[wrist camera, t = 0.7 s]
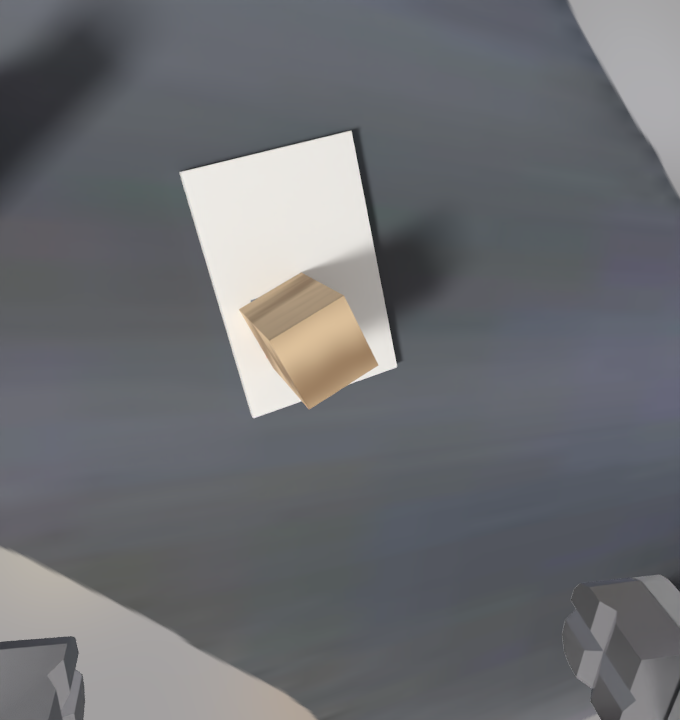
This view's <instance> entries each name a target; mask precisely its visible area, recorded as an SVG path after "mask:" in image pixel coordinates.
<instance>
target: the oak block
mask: <svg viewBox="0 0 680 720" xmlns="http://www.w3.org/2000/svg"><path fill="white" fill-rule="evenodd" d="M239 311H240V312H241V314H242V316H243V317H244V319H245V321H246V323H247V324H248V326H249V328H250V329H251V331H252V333H253V334H254V336H255V338H256V340H257V341H258V343H259V345H260V346H261V348H262V350H263V352H264V353H265V355H266V357H267V358H268V360H269V362H270V364H271V365H272V367H273V368H274V370H275V371H276V372H277V373H278V374H279V375H280V377H281V378H282V379H283V380H284V381H285V382H286V383H287V385H288V386H289V387H290V388H291V389H292V390H293V392H294V393H295V394H296V395H297V396H298V397H299V398H300V400H301V401H302V402H303V403H304V404H305V405H306V407H307V408H308V409H311V408H312V407H314V406H315V405H317V404H318V403H320V402H322V401H323V400H325V399H326V398H328V397H329V396H331V395H333V394H334V393H336V392H337V391H339V390H340V389H342V388H344V387H345V386H347V385H348V384H350V383H351V382H353V381H355V380H356V379H358V378H359V377H361V376H362V375H364V374H366V373H367V372H369V371H370V370H372V369H374V368H375V367H377V366H378V363H377V361H376V359H375V357H374V355H373V353H372V351H371V349H370V347H369V345H368V343H367V341H366V339H365V337H364V335H363V333H362V331H361V329H360V327H359V325H358V323H357V321H356V319H355V317H354V315H353V313H352V311H351V309H350V307H349V305H348V303H347V301H346V299H345V297H344V295H342V294H340V293H338V292H337V291H335V290H333V289H331V288H329V287H327V286H325V285H324V284H322V283H320V282H318V281H316V280H314V279H312V278H311V277H309V276H307V275H305V274H303V273H299V274H298V275H296V276H294V277H293V278H291V279H289V280H288V281H286V282H284V283H282V284H281V285H279V286H277V287H276V288H274V289H272V290H271V291H269V292H267V293H266V294H264V295H262V296H261V297H259V298H257V299H256V300H254V301H252V302H250V303H249V304H247V305H245V306H244V307H242V308H240V309H239Z"/></svg>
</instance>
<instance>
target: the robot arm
mask: <svg viewBox="0 0 680 720" xmlns="http://www.w3.org/2000/svg"><path fill="white" fill-rule="evenodd" d="M571 602H572V603H573V605H574V606H575V608H576V609H575V610H574V611H573V612H572V613H571V614H570V615H569V616H568V617H567V618H566V619H565V623H564V627H563V632H562V639H563V647H564V652H565V655H566V658H567V661H568V663H569V665H570V667H571V669H572V671H573V672H574V674H575V676H576V678H578V679H579V680H581V681H582V682H584V683H585V684H586V685H588V686H589V687H591V688H592V691H591V701H590V702H591V704H592V705H593V707H594V709H595V710H596V712H597V714H598V715H599V717H600V719H601V720H680V592H679V591H678V590H677V589H676V587H675V586H674V585H673V584H672V583H671V582H670V581H669V580H668V579H667V578H665V577H663V576H662V575H652V576H643V577H634V578H622V579H614V580H605V581H596V582H588V583H580V584H579V585H578V586H577V587H576V588H575V589H574V591H573V594H572V597H571ZM77 658H78V648H77V644H76V639H75V638H74V637H71V636H70V637H57V638H44V639H31V640H18V641H6V642H0V720H83V717H84V704H85V696H84V682H83V676H82V674H81V673H80V672H78V671H77V670H76V669H75V667H76V663H77Z"/></svg>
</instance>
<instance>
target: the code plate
mask: <svg viewBox="0 0 680 720" xmlns="http://www.w3.org/2000/svg"><path fill="white" fill-rule="evenodd" d="M179 173H180V177H181V180H182V183H183V187H184V190H185V193H186V197H187V200H188V204H189V207H190V210H191V214H192V217H193V220H194V224H195V227H196V230H197V234H198V237H199V241H200V244H201V247H202V251H203V254H204V257H205V261H206V264H207V267H208V271H209V274H210V278H211V281H212V284H213V288H214V291H215V294H216V298H217V301H218V305H219V308H220V311H221V315H222V318H223V321H224V325H225V328H226V331H227V335H228V338H229V342H230V345H231V348H232V352H233V355H234V358H235V362H236V365H237V369H238V372H239V375H240V379H241V382H242V385H243V389H244V392H245V395H246V399H247V402H248V406H249V409H250V412H251V415H252V417H253V418H256V417H259V416H261V415H264V414H267V413H270V412H273V411H275V410H278V409H281V408H284V407H287V406H289V405H292V404H295V403H298V402H301V400H300V398H299V397H298V396H297V395H296V394H295V393H294V392H293V390H292V389H291V388H290V387H289V386H288V385H287V383H286V382H285V381H284V380H283V379H282V378H281V377H280V375H279V374H278V373H277V372H276V371H275V370H274V368H273V367H272V365H271V364H270V362H269V360H268V358H267V357H266V355H265V353H264V352H263V350H262V348H261V346H260V345H259V343H258V341H257V340H256V338H255V336H254V334H253V333H252V331H251V329H250V328H249V326H248V324H247V323H246V321H245V319H244V317H243V316H242V314H241V312H240V311H239V309H240V308H242V307H244V306H245V305H247V304H249V303H250V302H252V301H254V300H256V299H257V298H259V297H261V296H262V295H264V294H266V293H267V292H269V291H271V290H272V289H274V288H276V287H277V286H279V285H281V284H282V283H284V282H286V281H288V280H289V279H291V278H293V277H294V276H296V275H298V274H299V273H303V274H305V275H307V276H309V277H311V278H312V279H314V280H316V281H318V282H320V283H322V284H324V285H325V286H327V287H329V288H331V289H333V290H335V291H337V292H338V293H340V294H342V295H344V297H345V299H346V301H347V303H348V305H349V307H350V309H351V311H352V313H353V315H354V317H355V319H356V321H357V323H358V325H359V327H360V329H361V331H362V333H363V335H364V337H365V339H366V341H367V343H368V345H369V347H370V349H371V351H372V353H373V355H374V357H375V359H376V361H377V363H378V366H377V367H375V368H374V369H372V370H370V371H369V372H367V373H366V374H364V375H362V376H361V377H359V378H358V379H356V380H355V381H353V382H351V383H354V382H357V381H360V380H362V379H365V378H368V377H371V376H374V375H376V374H379V373H382V372H385V371H388V370H390V369H393V368H396V367H397V363H396V358H395V353H394V348H393V343H392V338H391V332H390V327H389V322H388V317H387V312H386V307H385V301H384V296H383V291H382V286H381V281H380V276H379V270H378V265H377V260H376V255H375V250H374V245H373V239H372V234H371V229H370V224H369V219H368V214H367V208H366V203H365V198H364V193H363V188H362V183H361V177H360V172H359V167H358V162H357V157H356V151H355V146H354V141H353V136H352V131H346V132H342V133H338V134H334V135H330V136H326V137H321V138H317V139H313V140H309V141H305V142H301V143H297V144H293V145H289V146H284V147H280V148H276V149H272V150H268V151H264V152H260V153H256V154H251V155H247V156H243V157H239V158H235V159H231V160H227V161H223V162H218V163H214V164H210V165H206V166H202V167H198V168H194V169H190V170H186V171H181V172H179ZM351 383H350V384H351Z"/></svg>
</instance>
